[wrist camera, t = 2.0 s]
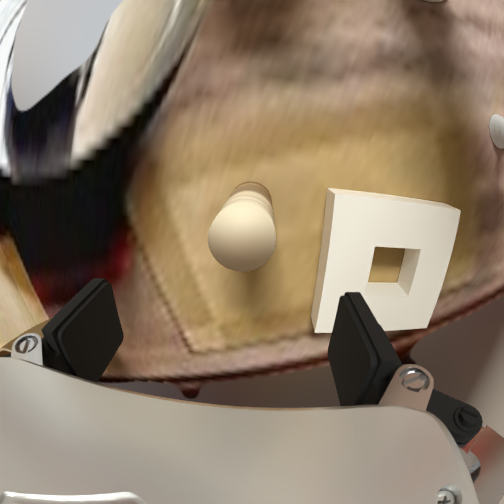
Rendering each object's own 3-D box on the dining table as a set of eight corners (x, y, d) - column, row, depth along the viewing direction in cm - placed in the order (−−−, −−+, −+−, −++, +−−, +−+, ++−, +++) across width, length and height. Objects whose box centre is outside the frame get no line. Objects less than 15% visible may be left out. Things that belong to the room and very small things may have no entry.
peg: (230, 181, 28) (207, 206, 17) (272, 182, 28) (278, 208, 17) (229, 221, 30) (208, 269, 19) (270, 223, 30) (273, 273, 19)
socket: (327, 188, 28) (335, 194, 25) (445, 203, 27) (460, 210, 24) (310, 315, 34) (314, 332, 31) (416, 313, 33) (426, 327, 30)
